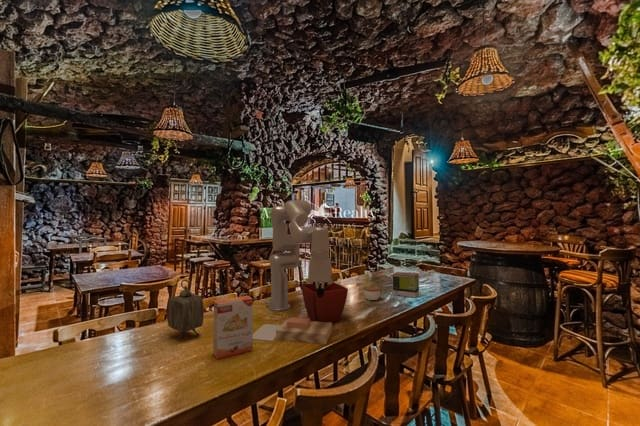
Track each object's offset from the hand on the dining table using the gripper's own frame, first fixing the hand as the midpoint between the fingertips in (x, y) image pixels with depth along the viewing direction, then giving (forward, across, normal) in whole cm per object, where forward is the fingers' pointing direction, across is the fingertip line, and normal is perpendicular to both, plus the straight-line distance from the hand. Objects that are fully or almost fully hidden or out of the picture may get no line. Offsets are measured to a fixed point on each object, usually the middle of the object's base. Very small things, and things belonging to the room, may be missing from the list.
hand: (320, 296), depth 132 cm
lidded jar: (+17, +20, +64) cm, 70 cm away
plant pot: (+18, -3, +23) cm, 29 cm away
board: (+18, -7, 0) cm, 19 cm away
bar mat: (+17, -25, 0) cm, 30 cm away
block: (+13, -10, 0) cm, 17 cm away
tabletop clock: (+17, -59, -12) cm, 63 cm away
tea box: (+17, +42, +80) cm, 92 cm away
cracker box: (+18, -30, -22) cm, 41 cm away
